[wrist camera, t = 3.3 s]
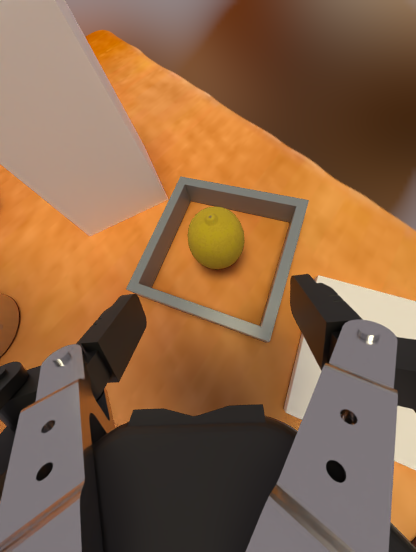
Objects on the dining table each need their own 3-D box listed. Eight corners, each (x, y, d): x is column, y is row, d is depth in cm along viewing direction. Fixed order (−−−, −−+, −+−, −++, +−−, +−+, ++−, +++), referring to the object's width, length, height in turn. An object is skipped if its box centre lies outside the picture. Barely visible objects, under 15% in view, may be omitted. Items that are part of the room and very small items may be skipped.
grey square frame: (139, 295, 24) (125, 289, 21) (186, 193, 28) (180, 176, 25) (265, 342, 20) (269, 341, 18) (300, 217, 24) (308, 200, 21)
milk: (144, 146, 32) (-163, -479, 8) (168, 199, 28) (-321, -767, 4) (76, 179, 32) (-443, -337, 8) (89, 236, 28) (-897, -463, 4)
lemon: (228, 227, 25) (222, 178, 18) (253, 263, 23) (258, 224, 16) (189, 250, 25) (167, 210, 17) (211, 287, 23) (196, 260, 16)
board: (283, 409, 18) (285, 412, 17) (314, 278, 22) (318, 275, 21) (461, 487, 15) (476, 497, 14) (467, 320, 18) (479, 318, 17)
